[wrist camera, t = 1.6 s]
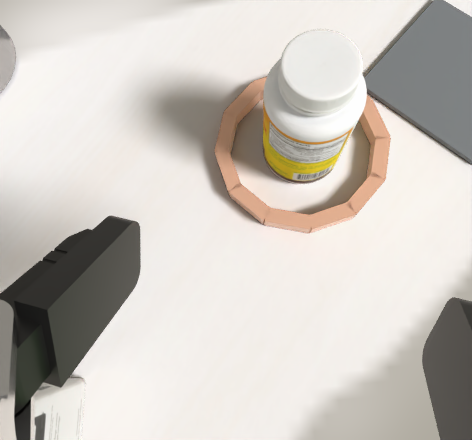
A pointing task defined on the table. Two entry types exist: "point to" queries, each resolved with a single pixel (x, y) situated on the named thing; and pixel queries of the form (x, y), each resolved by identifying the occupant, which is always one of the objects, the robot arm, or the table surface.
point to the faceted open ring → (289, 219)
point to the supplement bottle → (312, 105)
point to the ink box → (59, 410)
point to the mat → (431, 76)
